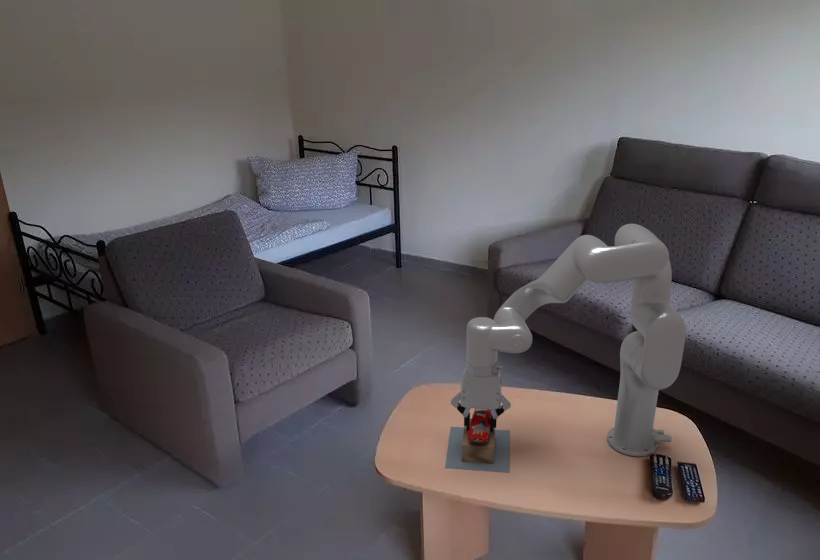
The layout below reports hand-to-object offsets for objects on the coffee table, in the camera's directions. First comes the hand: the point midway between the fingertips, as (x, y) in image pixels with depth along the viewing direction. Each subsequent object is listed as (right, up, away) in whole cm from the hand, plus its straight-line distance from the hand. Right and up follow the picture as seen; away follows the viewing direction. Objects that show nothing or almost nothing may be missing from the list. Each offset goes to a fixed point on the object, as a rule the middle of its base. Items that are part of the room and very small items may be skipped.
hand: (480, 427), depth 172 cm
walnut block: (0, -6, +2) cm, 6 cm away
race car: (0, -1, 0) cm, 1 cm away
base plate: (0, -7, +3) cm, 7 cm away
